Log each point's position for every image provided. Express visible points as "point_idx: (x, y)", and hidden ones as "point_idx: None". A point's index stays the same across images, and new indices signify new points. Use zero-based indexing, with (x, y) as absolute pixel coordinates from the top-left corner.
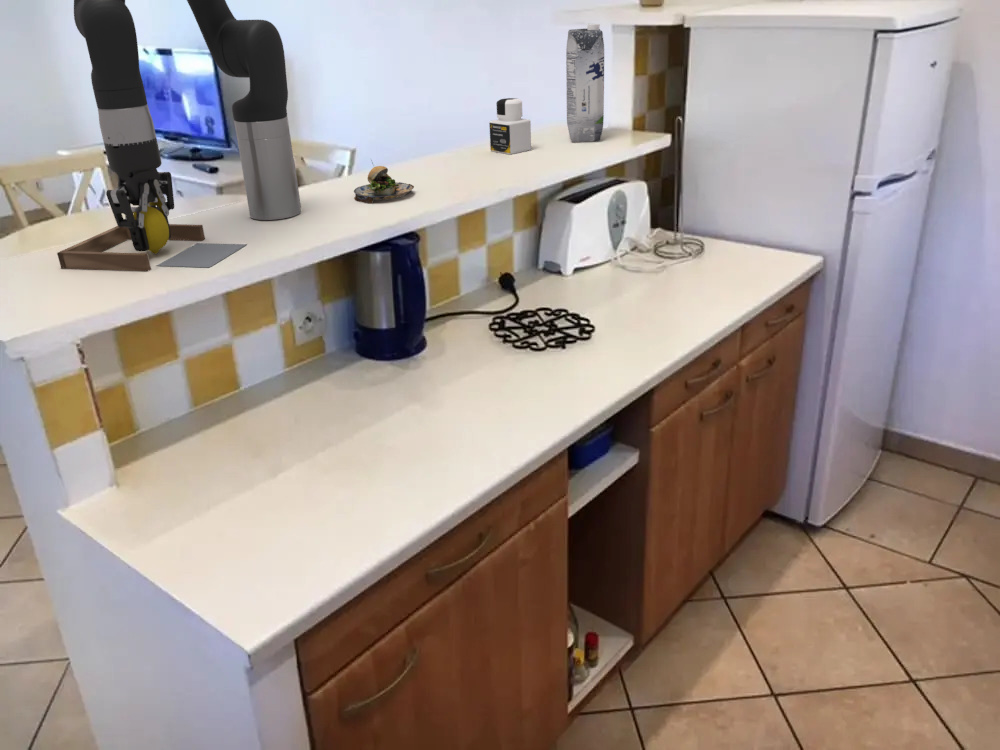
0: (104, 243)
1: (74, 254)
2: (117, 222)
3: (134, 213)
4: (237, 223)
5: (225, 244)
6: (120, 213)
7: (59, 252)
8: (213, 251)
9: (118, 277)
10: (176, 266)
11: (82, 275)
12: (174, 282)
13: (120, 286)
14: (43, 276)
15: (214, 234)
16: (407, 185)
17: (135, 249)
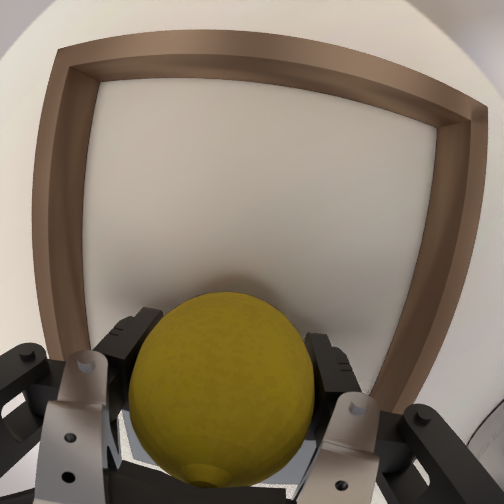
0: (306, 80)
1: (42, 119)
2: (9, 355)
3: (157, 411)
4: (488, 393)
5: (307, 459)
6: (5, 396)
7: (59, 54)
8: None
9: (33, 297)
10: (122, 410)
11: (31, 182)
12: None
13: (5, 324)
14: (38, 73)
15: (423, 397)
16: None
17: (145, 308)
